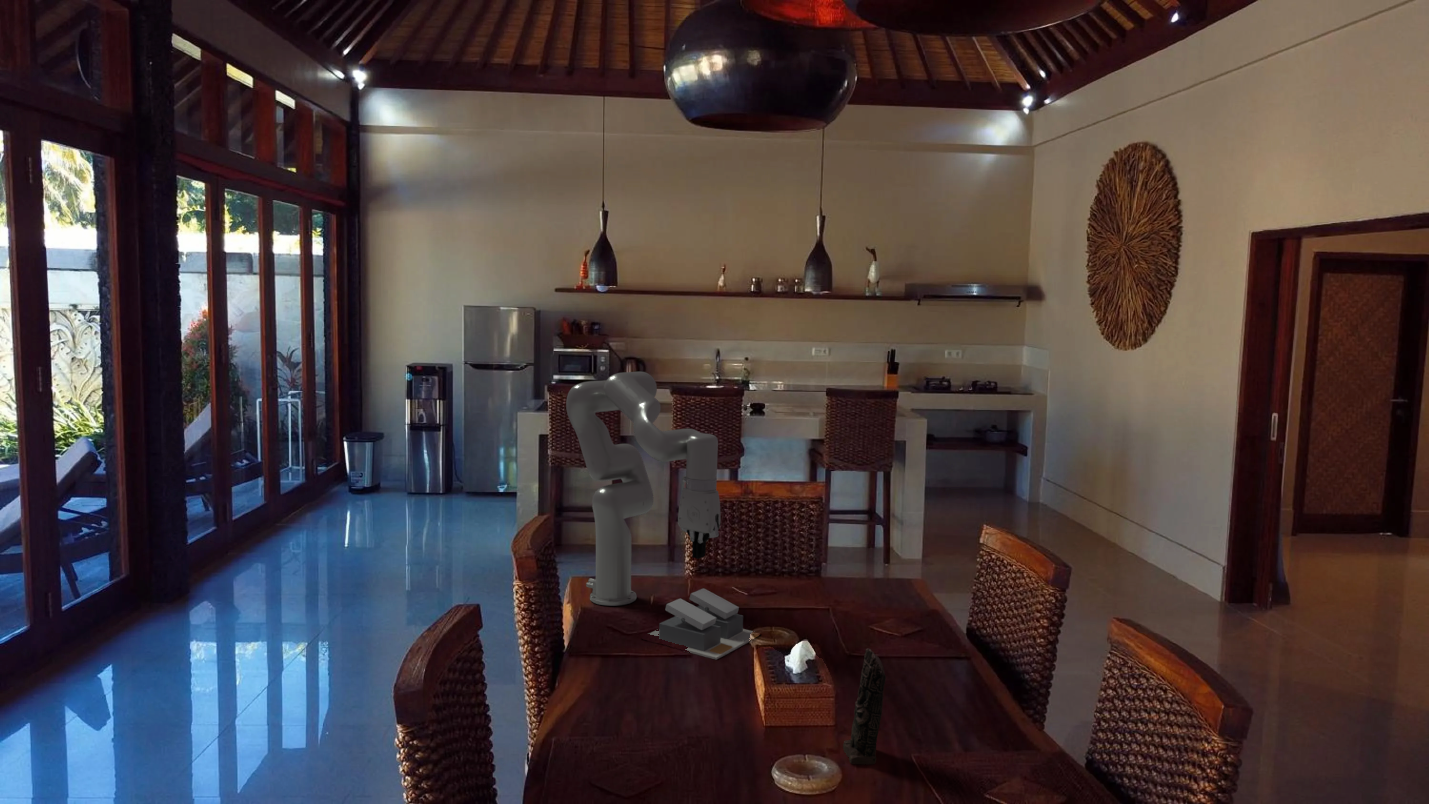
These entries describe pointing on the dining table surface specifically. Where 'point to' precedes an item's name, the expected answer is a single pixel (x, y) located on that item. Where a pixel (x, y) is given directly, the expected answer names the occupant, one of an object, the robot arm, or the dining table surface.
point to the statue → (867, 712)
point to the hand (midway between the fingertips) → (698, 556)
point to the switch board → (706, 635)
